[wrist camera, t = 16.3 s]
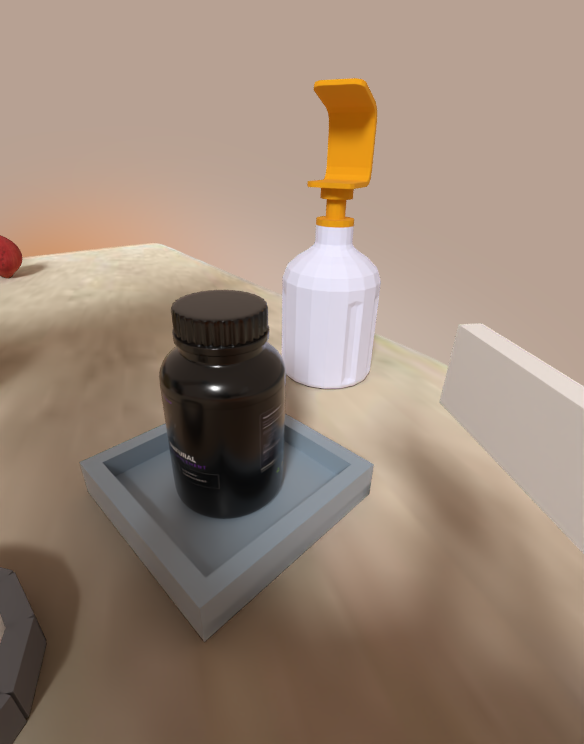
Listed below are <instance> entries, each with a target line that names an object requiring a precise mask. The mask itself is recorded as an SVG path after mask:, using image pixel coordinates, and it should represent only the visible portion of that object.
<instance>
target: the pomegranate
mask: <svg viewBox="0 0 584 744" xmlns="http://www.w3.org/2000/svg"><path fill="white" fill-rule="evenodd" d="M21 263H22V254H21V252H20V250H19V248H18V247H17V246H16V245H15V244H14V243H13V242H12V241H10V240H9V239H7V238H5V237H3V236H1V235H0V276H2V277H5V278H10V277H12V276H13V274H14V273H15V272H16V271H17V270H18V268H19V267H20V266H21Z"/></svg>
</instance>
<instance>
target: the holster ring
mask: <svg viewBox="0 0 584 744" xmlns="http://www.w3.org/2000/svg"><path fill="white" fill-rule="evenodd" d="M0 614H1V617H2V619H3V622H4V625H5V627H6V628H5V631H4V634H3V637H2V640H1V643H0V744H12V743H13V741H14V740H15V738H16V737H17V735H18V734H19V732H20V731H21V729H22V728H23V726H24V725H25V724H26V722H27V721H26V720H25V718H28V717H29V714H30V710H31V706H32V702H33V698H34V694H35V689H36V685H37V681H38V677H39V673H40V668H41V664H42V660H43V656H44V652H45V647H46V639H45V637H44V634H43V632H42V630H41V628H40V626H39V623H38V621H37V619H36V617H35V615H34V613H33V610H32V608H31V606H30V604H29V602H28V600H27V597H26V595H25V593H24V591H23V589H22V587H21V585H20V583H19V580H18V578H17V576H16V574H15V572H13V571H12V570H9V569H5V568H2V567H0Z"/></svg>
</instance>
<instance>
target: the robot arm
mask: <svg viewBox="0 0 584 744" xmlns="http://www.w3.org/2000/svg"><path fill="white" fill-rule="evenodd" d="M439 403H440V404H441V405H442V406H443V407H444V408H445V409H446V410H447V411H448V412H449V413H450V414H451V415H452V416H453V417H454V418H455V419H456V420H457V421H458V422H459V424H460V425H461V426H462V427H463V428H464V429H465V430H466V431H467V432H468V433H469V434H470V435H471V436H472V437H473V438H474V439H475V440H476V441H477V442H478V443H479V445H480V446H481V447H482V448H483V449H484V450H485V451H486V452H487V453H488V454H489V455H490V456H491V457H492V458H493V459H494V460H495V461H496V462H497V463H498V464H499V466H500V467H501V468H502V469H503V470H504V471H505V472H506V473H507V474H508V475H509V476H510V477H511V478H512V479H513V480H514V481H515V482H516V483H517V484H518V485H519V487H520V488H521V489H522V490H523V491H524V492H525V493H526V494H527V495H528V496H529V497H530V498H531V499H532V500H533V501H534V502H535V503H536V504H537V505H538V506H539V508H540V509H541V510H542V511H543V512H544V513H545V514H546V515H547V516H548V517H549V518H550V519H551V520H552V521H553V522H554V523H555V524H556V525H557V526H558V527H559V529H560V530H561V531H562V532H563V533H564V534H565V535H566V536H567V537H568V538H569V539H570V540H571V541H572V542H573V543H574V544H575V545H576V546H577V547H578V548H579V550H580V551H581V552H582V553H583V554H584V386H582V385H581V384H579V383H578V382H576V381H574V380H573V379H571V378H569V377H568V376H566V375H565V374H563V373H561V372H560V371H558V370H556V369H555V368H553V367H552V366H550V365H548V364H547V363H545V362H543V361H542V360H540V359H539V358H537V357H535V356H534V355H532V354H530V353H529V352H527V351H525V350H524V349H522V348H521V347H519V346H517V345H516V344H514V343H513V342H511V341H509V340H508V339H506V338H504V337H502V336H501V335H500V334H498V333H496V332H495V331H493V330H492V329H490V328H488V327H487V326H485V325H483V324H482V323H480V324H459V326H458V330H457V334H456V338H455V342H454V346H453V350H452V354H451V358H450V362H449V366H448V370H447V374H446V378H445V382H444V386H443V390H442V394H441V398H440V402H439Z"/></svg>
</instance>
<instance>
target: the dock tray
mask: <svg viewBox="0 0 584 744" xmlns="http://www.w3.org/2000/svg"><path fill="white" fill-rule="evenodd" d="M79 463H80V466H81V470H82V473H83V476H84V480H85V483H86V487H87V490H88V493H89V494H90V495H91V496H92V498H93V499H94V500H95V502H96V503H97V504H98V505H99V507H100V508H101V509H102V511H103V512H104V513H105V514H106V516H107V517H108V518H109V520H110V521H111V522H112V523H113V525H114V526H115V527H116V529H117V530H118V531H119V533H120V534H121V535H122V536H123V538H124V539H125V540H126V542H127V543H128V544H129V545H130V547H131V548H132V549H133V551H134V552H135V553H136V554H137V556H138V557H139V558H140V560H141V561H142V562H143V563H144V565H145V566H146V567H147V569H148V570H149V571H150V572H151V574H152V575H153V576H154V578H155V579H156V580H157V581H158V583H159V584H160V585H161V587H162V588H163V589H164V590H165V592H166V593H167V594H168V596H169V597H170V598H171V599H172V601H173V602H174V603H175V605H176V606H177V607H178V608H179V610H180V611H181V612H182V614H183V615H184V616H185V618H186V619H187V620H188V621H189V623H190V624H191V625H192V627H193V628H194V629H195V630H196V632H197V633H198V634H199V636H200V637H201V638H202V639H203V641H204V642H205V641H206V640H207V639H208V638H209V637H211V636H212V635H213V634H214V633H215V632H216V631H217V630H218V629H219V628H221V627H222V626H223V625H224V624H225V623H226V622H227V621H228V620H229V619H231V618H232V617H233V616H234V615H235V614H236V613H237V612H238V611H239V610H241V609H242V608H243V607H244V606H245V605H246V604H247V603H248V602H249V601H251V600H252V599H253V598H254V597H255V596H256V595H257V594H258V593H260V592H261V591H262V590H263V589H264V588H265V587H266V586H267V585H268V584H270V583H271V582H272V581H273V580H274V579H275V578H276V577H277V576H278V575H280V574H281V573H282V572H283V571H284V570H285V569H286V568H287V567H288V566H290V565H291V564H292V563H293V562H294V561H295V560H296V559H297V558H298V557H300V556H301V555H302V554H303V553H304V552H305V551H306V550H307V549H308V548H310V547H311V546H312V545H313V544H314V543H315V542H316V541H317V540H318V539H320V538H321V537H322V536H323V535H324V534H325V533H326V532H327V531H328V530H330V529H331V528H332V527H333V526H334V525H335V524H336V523H337V522H338V521H340V520H341V519H342V518H343V517H344V516H345V515H346V514H347V513H348V512H350V511H351V510H352V509H353V508H354V507H355V506H356V505H357V504H359V503H360V502H361V501H362V500H363V499H364V498H365V497H366V496H367V495H369V492H370V486H371V479H372V472H373V466H374V464H372V463H370V462H368V461H367V460H365V459H363V458H361V457H360V456H358V455H356V454H354V453H353V452H351V451H349V450H348V449H346V448H344V447H342V446H341V445H339V444H337V443H335V442H334V441H332V440H330V439H328V438H327V437H325V436H323V435H321V434H320V433H318V432H316V431H314V430H313V429H311V428H309V427H308V426H306V425H304V424H302V423H301V422H299V421H297V420H295V419H294V418H292V417H290V416H288V415H287V414H285V425H284V462H283V478H282V483H281V486H280V488H279V490H278V492H277V494H276V495H275V497H274V498H273V499H272V500H271V501H270V502H269V503H268V504H267V505H266V506H264V507H263V508H261V509H260V510H258V511H256V512H254V513H252V514H249V515H247V516H243V517H239V518H233V519H216V518H210V517H206V516H203V515H200V514H198V513H196V512H194V511H193V510H191V509H190V508H188V507H187V506H186V505H185V504H184V503H183V502H182V500H181V499H180V497H179V495H178V493H177V491H176V487H175V481H174V476H173V470H172V463H171V456H170V449H169V443H168V436H167V429H166V423H165V424H163V425H161V426H159V427H156V428H154V429H152V430H150V431H147V432H145V433H143V434H141V435H139V436H136V437H134V438H132V439H130V440H128V441H125V442H123V443H121V444H119V445H116V446H114V447H112V448H110V449H108V450H105V451H103V452H101V453H99V454H97V455H94V456H92V457H90V458H88V459H86V460H83V461H81V462H79Z"/></svg>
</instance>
